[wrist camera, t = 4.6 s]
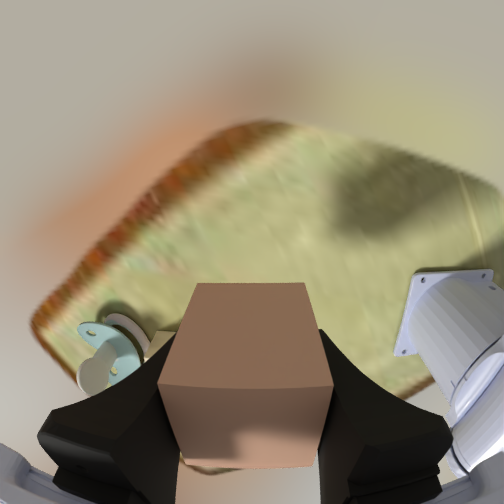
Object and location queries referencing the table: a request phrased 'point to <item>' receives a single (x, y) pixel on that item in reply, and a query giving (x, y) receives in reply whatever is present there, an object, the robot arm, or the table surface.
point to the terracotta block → (247, 377)
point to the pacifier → (109, 353)
